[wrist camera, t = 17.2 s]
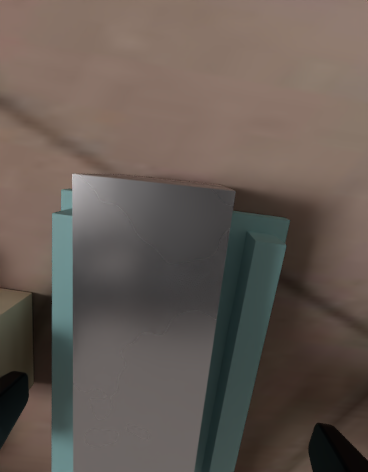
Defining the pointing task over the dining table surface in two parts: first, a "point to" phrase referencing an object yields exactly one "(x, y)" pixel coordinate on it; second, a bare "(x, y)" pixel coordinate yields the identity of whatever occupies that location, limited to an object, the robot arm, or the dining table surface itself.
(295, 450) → the dining table surface
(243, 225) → the cradle
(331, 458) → the robot arm
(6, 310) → the bore block
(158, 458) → the grey long bar
